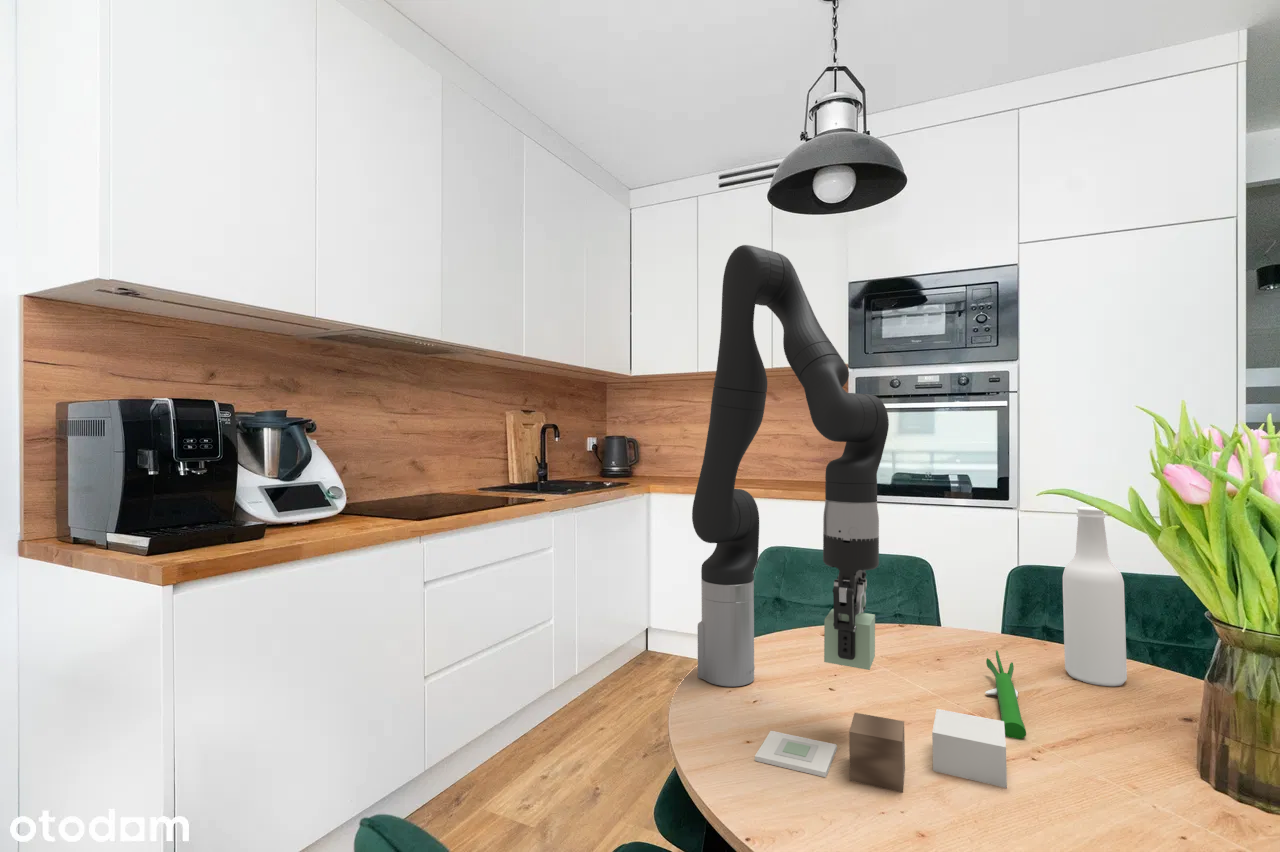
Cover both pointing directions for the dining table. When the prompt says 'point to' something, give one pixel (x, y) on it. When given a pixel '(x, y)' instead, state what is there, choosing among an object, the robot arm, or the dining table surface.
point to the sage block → (862, 641)
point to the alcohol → (1094, 607)
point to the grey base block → (969, 747)
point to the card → (797, 753)
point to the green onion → (1007, 700)
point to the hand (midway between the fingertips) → (850, 650)
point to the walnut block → (877, 752)
